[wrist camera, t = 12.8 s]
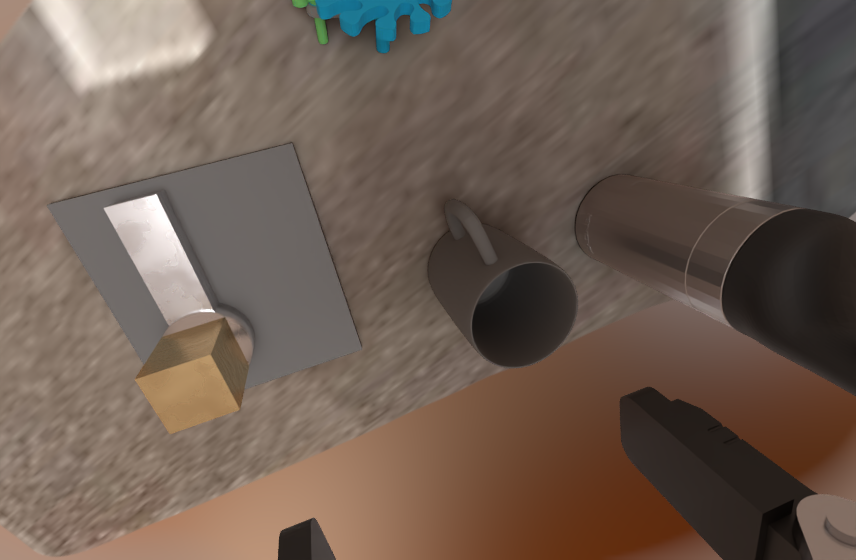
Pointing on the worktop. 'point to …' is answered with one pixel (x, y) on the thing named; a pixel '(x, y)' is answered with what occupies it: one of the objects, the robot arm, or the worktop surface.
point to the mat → (229, 258)
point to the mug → (500, 291)
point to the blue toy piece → (373, 16)
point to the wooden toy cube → (195, 375)
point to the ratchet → (173, 267)
